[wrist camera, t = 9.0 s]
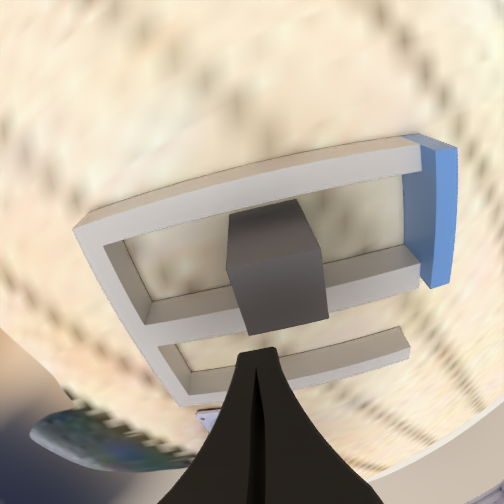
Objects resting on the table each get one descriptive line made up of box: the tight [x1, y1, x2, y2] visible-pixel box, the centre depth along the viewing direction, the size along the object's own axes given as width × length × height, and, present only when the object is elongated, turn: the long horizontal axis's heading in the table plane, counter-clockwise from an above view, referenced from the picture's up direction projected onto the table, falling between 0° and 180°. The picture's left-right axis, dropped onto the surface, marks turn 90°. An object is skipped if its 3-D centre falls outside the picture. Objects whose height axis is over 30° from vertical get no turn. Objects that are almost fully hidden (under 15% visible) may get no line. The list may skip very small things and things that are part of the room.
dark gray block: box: [226, 199, 329, 336], centre depth 16 cm, size 4×4×6 cm
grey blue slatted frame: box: [72, 134, 458, 407], centre depth 19 cm, size 17×21×4 cm
